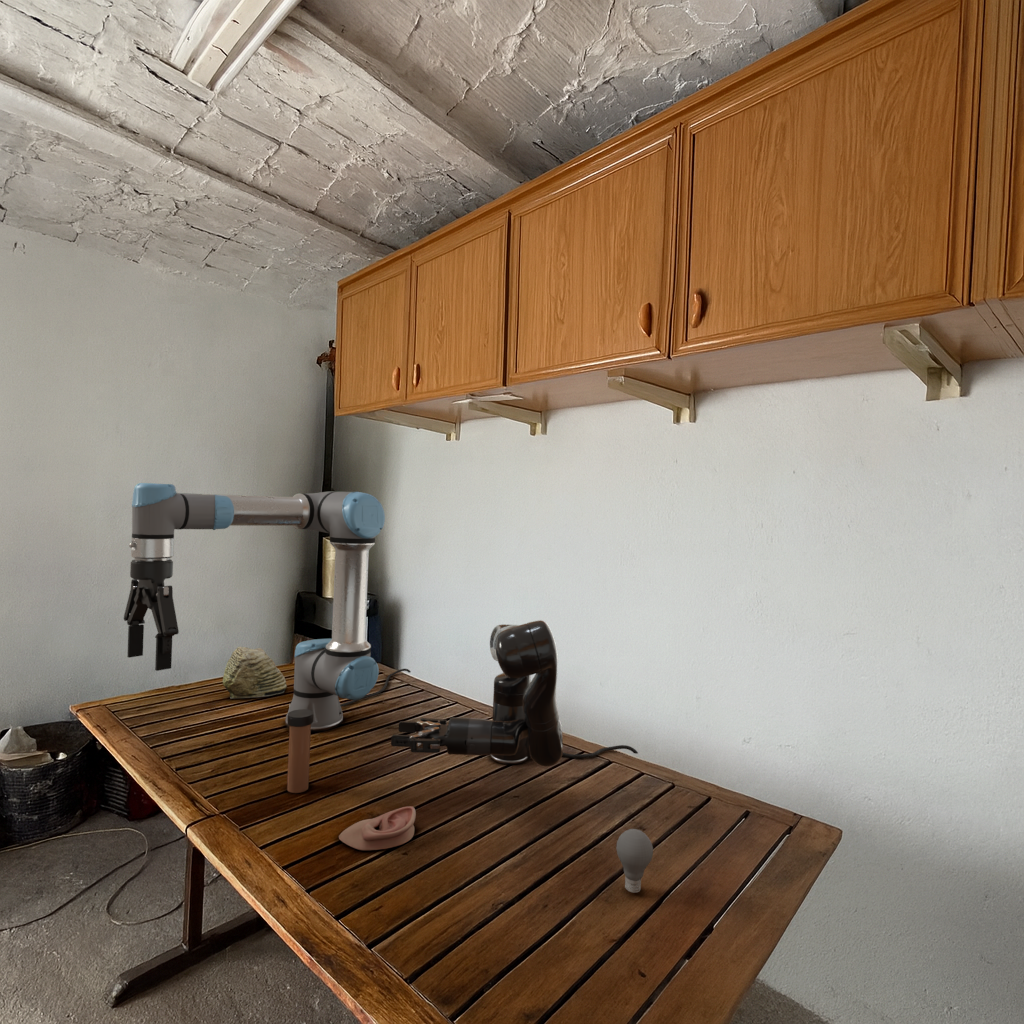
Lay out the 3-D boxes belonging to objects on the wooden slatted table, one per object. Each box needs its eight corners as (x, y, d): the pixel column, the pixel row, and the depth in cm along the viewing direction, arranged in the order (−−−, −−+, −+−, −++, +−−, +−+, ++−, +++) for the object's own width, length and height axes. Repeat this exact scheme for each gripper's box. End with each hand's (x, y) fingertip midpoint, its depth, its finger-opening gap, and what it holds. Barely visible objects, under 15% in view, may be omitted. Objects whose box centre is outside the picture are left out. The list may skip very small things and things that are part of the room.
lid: (289, 728, 133) (289, 718, 133) (285, 719, 138) (286, 710, 138) (315, 724, 136) (315, 715, 136) (310, 717, 140) (310, 708, 140)
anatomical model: (331, 824, 115) (359, 795, 126) (330, 845, 115) (358, 815, 126) (400, 835, 112) (422, 805, 124) (399, 857, 112) (421, 825, 124)
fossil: (218, 695, 195) (220, 647, 195) (278, 685, 208) (279, 640, 207) (228, 703, 189) (230, 653, 188) (289, 692, 201) (290, 645, 201)
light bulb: (610, 879, 108) (613, 822, 108) (644, 879, 109) (647, 822, 109) (619, 902, 102) (622, 840, 102) (655, 901, 103) (658, 840, 103)
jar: (288, 794, 134) (291, 719, 134) (285, 785, 138) (288, 713, 138) (310, 790, 136) (313, 717, 136) (306, 782, 140) (309, 710, 140)
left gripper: (108, 554, 134) (104, 654, 134) (159, 565, 118) (155, 678, 119) (146, 552, 140) (143, 648, 140) (199, 563, 124) (195, 671, 124)
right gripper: (472, 708, 144) (401, 705, 144) (468, 730, 130) (389, 727, 130) (471, 741, 144) (400, 738, 144) (467, 767, 130) (387, 763, 129)
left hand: (148, 662), depth 129 cm, fingers open, 13 cm apart
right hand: (395, 733), depth 137 cm, fingers open, 8 cm apart
